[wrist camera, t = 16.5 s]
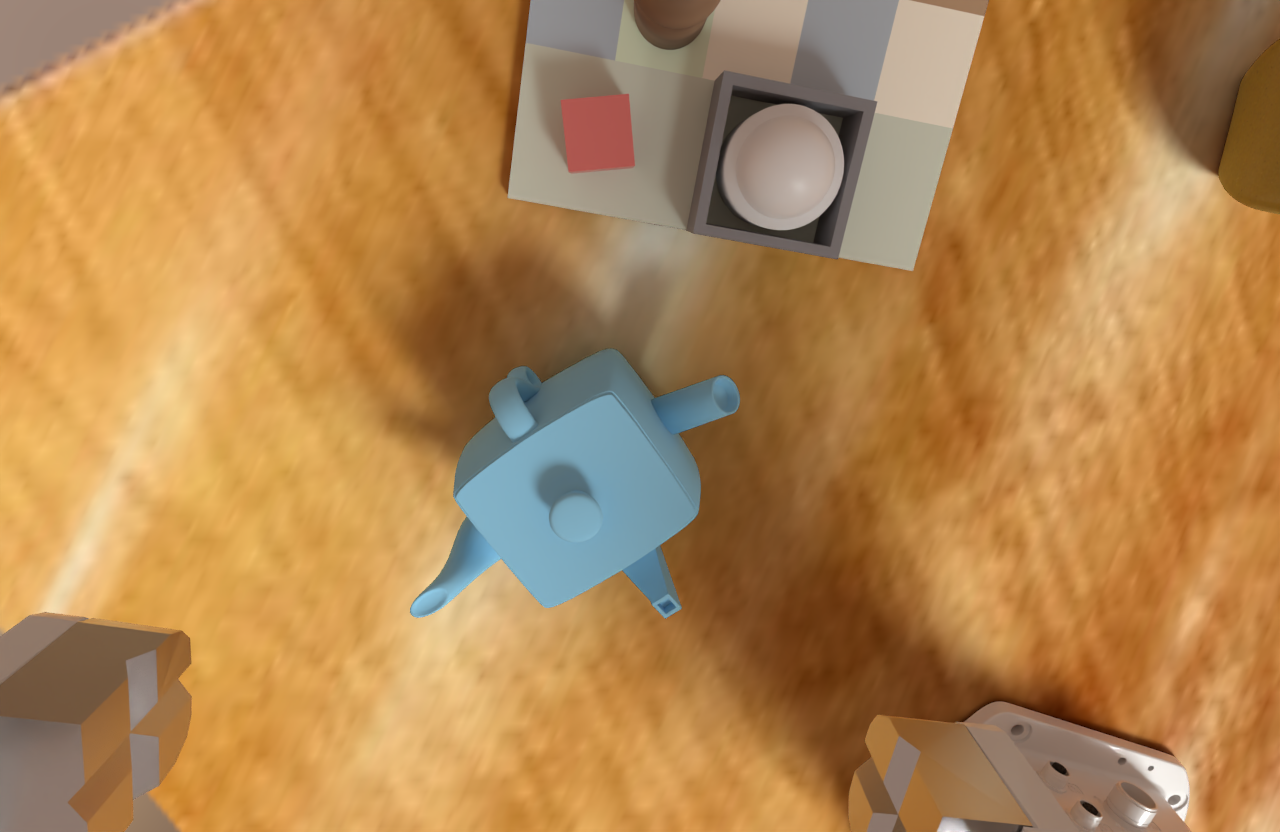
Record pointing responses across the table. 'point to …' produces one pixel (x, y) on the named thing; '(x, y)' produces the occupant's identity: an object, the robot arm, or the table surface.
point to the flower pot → (1255, 137)
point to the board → (753, 111)
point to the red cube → (598, 133)
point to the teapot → (579, 482)
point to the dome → (780, 167)
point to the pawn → (672, 20)
